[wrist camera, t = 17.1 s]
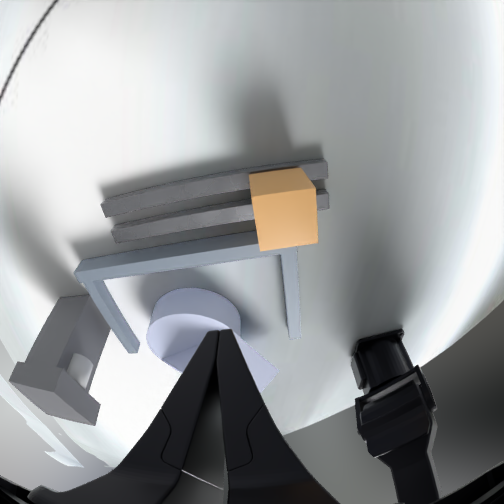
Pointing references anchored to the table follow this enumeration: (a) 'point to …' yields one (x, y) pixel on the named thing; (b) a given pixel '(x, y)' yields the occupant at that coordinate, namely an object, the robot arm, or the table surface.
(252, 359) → the wedge on round base
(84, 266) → the press bed
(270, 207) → the tan wooden cube
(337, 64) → the table surface
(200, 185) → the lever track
